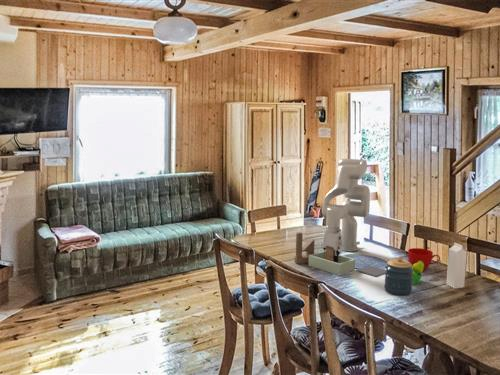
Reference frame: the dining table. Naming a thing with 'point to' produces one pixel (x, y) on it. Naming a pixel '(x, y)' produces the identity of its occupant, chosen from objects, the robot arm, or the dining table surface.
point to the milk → (456, 266)
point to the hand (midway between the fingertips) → (331, 260)
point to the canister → (398, 277)
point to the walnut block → (330, 253)
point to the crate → (332, 263)
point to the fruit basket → (417, 272)
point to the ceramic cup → (421, 256)
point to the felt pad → (371, 271)
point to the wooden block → (303, 249)
